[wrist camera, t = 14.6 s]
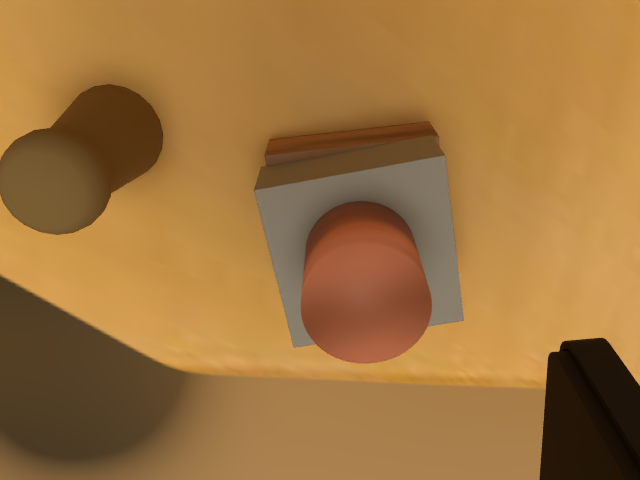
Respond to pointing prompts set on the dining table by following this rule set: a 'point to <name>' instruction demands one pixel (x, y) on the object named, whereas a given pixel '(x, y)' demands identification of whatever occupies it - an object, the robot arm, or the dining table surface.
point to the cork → (80, 160)
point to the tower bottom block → (342, 141)
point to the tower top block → (372, 186)
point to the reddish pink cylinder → (364, 284)
